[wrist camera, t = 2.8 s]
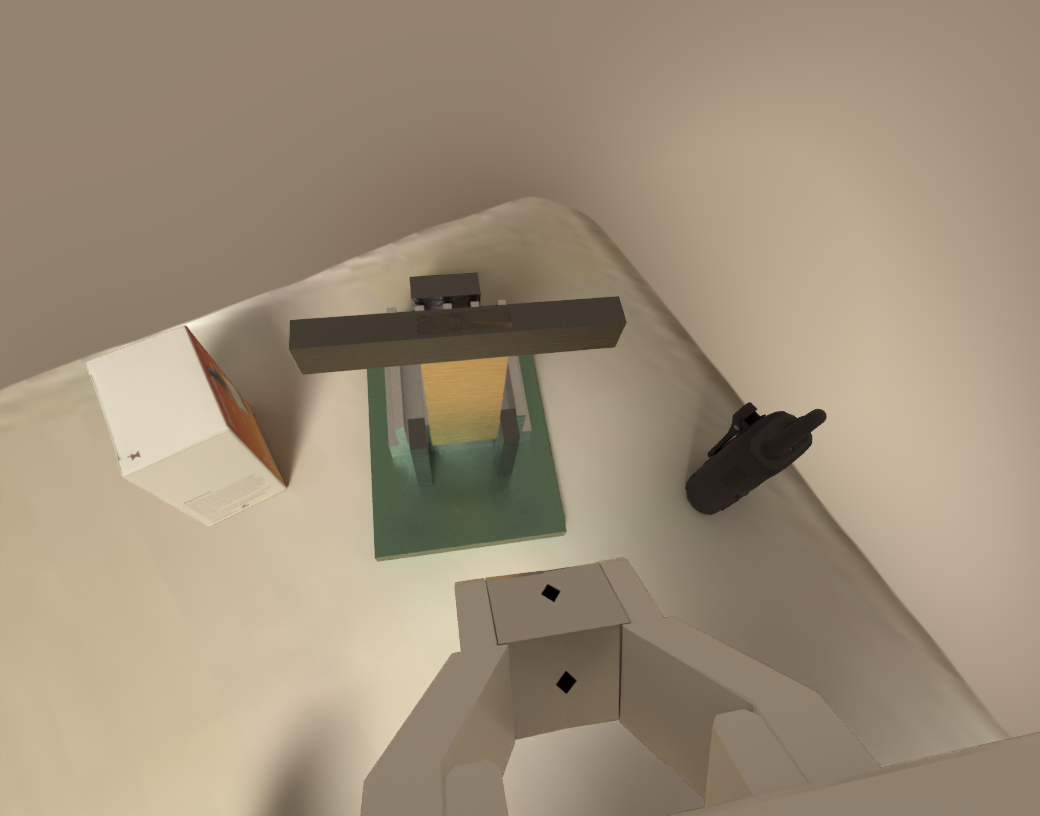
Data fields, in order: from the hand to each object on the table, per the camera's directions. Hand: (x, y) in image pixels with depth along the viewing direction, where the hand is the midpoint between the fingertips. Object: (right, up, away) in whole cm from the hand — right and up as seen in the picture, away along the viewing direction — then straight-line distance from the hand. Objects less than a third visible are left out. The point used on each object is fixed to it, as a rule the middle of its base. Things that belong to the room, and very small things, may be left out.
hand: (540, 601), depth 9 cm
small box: (-21, -1, +30) cm, 36 cm away
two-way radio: (+14, -2, +32) cm, 35 cm away
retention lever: (-4, +2, +24) cm, 24 cm away
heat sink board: (-5, +2, +32) cm, 33 cm away
